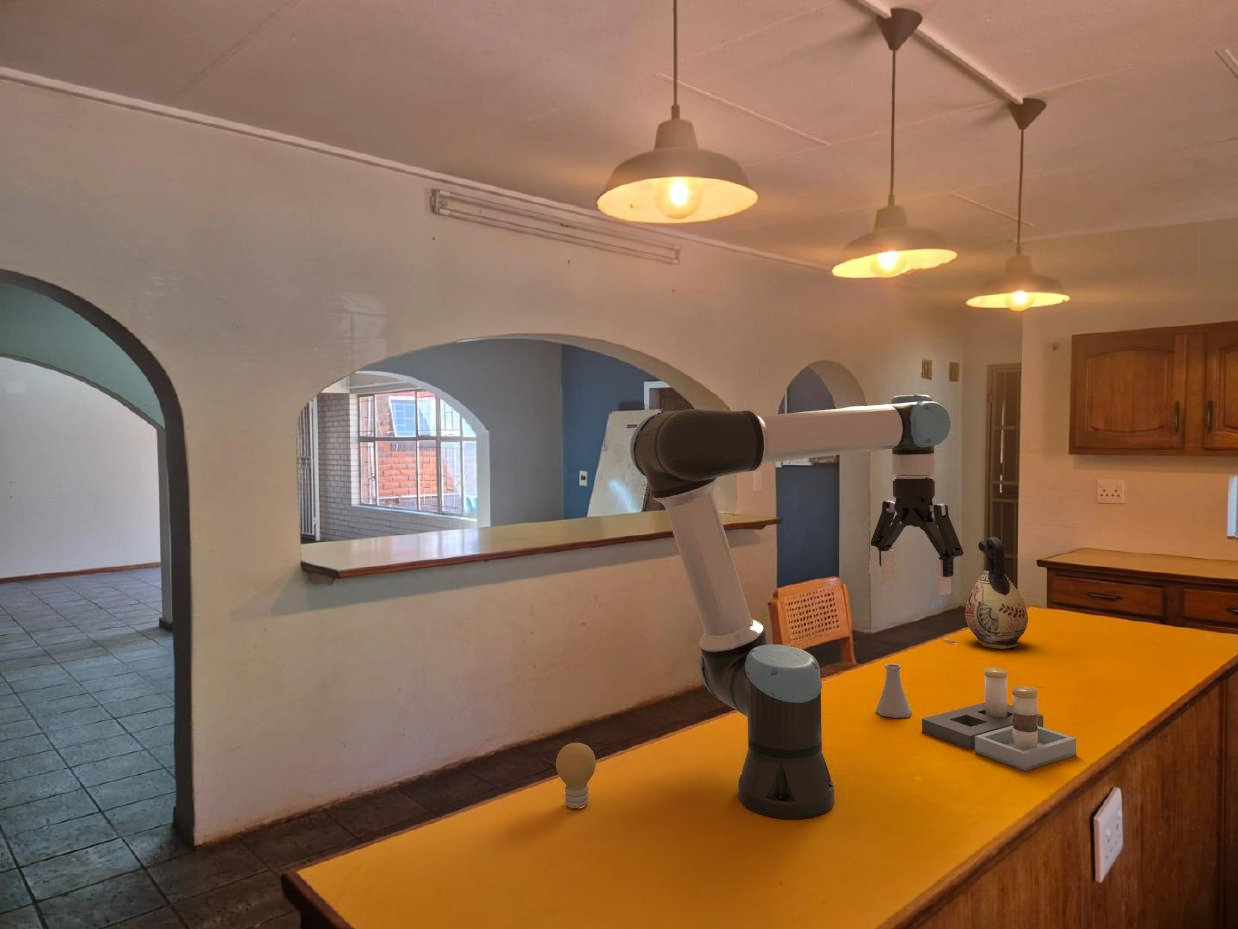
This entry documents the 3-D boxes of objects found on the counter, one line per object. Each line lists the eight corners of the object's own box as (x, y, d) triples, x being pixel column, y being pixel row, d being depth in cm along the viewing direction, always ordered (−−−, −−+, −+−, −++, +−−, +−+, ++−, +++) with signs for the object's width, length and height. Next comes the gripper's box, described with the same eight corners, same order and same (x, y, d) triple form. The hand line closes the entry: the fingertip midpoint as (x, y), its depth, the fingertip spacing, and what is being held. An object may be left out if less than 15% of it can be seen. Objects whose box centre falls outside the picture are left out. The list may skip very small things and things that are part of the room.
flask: (914, 720, 166) (913, 671, 165) (877, 718, 167) (876, 670, 167) (909, 708, 173) (908, 661, 172) (874, 707, 174) (873, 660, 174)
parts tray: (1025, 771, 139) (1024, 754, 139) (975, 752, 148) (974, 736, 148) (1076, 755, 145) (1076, 738, 145) (1025, 737, 154) (1025, 722, 154)
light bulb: (559, 797, 134) (557, 737, 133) (598, 797, 134) (596, 736, 133) (554, 815, 127) (553, 752, 127) (595, 815, 127) (594, 751, 127)
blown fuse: (1028, 756, 144) (1027, 694, 144) (1008, 749, 147) (1007, 688, 147) (1042, 751, 146) (1042, 690, 145) (1022, 744, 149) (1021, 685, 149)
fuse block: (969, 749, 149) (969, 736, 149) (922, 731, 159) (921, 718, 159) (1043, 728, 159) (1043, 715, 159) (994, 712, 169) (993, 700, 169)
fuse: (998, 730, 158) (997, 674, 158) (980, 724, 162) (980, 669, 161) (1012, 727, 160) (1011, 671, 160) (994, 721, 164) (993, 666, 163)
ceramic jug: (958, 638, 231) (957, 532, 230) (1016, 638, 228) (1015, 531, 228) (976, 653, 214) (975, 539, 213) (1039, 654, 212) (1037, 539, 211)
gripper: (983, 477, 145) (984, 596, 146) (879, 474, 167) (880, 577, 168) (953, 479, 142) (955, 601, 142) (851, 476, 164) (853, 581, 164)
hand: (915, 589), depth 155 cm, fingers open, 13 cm apart
